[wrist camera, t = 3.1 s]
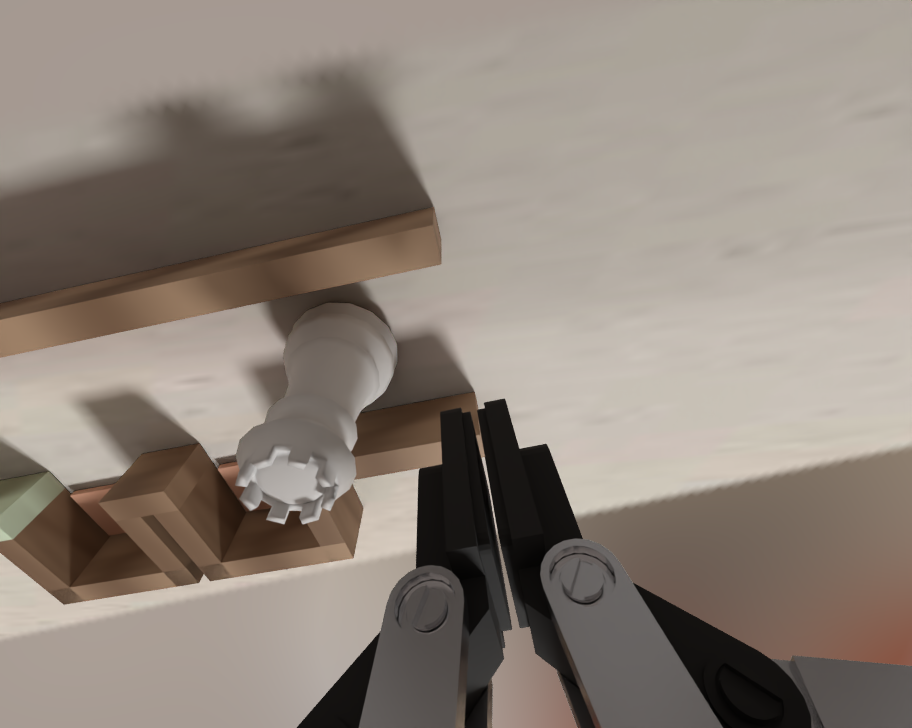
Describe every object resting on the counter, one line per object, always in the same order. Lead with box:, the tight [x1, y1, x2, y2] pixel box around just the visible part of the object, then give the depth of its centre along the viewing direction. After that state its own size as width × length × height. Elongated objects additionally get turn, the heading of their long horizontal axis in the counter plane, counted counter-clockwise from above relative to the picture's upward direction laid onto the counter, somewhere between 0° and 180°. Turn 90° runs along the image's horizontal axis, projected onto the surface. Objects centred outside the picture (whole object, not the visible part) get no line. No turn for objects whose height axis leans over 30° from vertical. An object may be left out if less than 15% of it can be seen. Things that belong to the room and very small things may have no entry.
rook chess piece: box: [235, 303, 398, 524], centre depth 14 cm, size 4×4×8 cm
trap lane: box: [0, 207, 485, 604], centre depth 18 cm, size 29×14×3 cm, turn 102°
